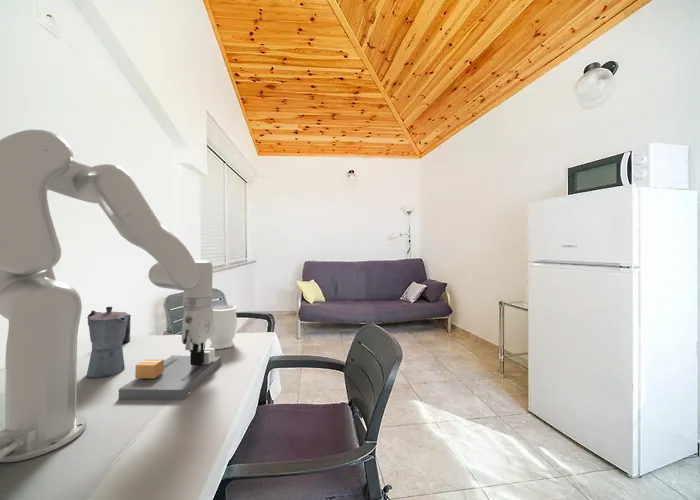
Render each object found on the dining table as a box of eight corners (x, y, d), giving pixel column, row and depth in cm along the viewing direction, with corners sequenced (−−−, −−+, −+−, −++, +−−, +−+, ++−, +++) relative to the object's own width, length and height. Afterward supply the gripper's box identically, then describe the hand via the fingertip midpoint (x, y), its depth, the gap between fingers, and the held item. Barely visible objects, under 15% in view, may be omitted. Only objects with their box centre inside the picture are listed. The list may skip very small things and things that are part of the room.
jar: (242, 344, 111) (242, 307, 111) (217, 352, 103) (218, 311, 103) (225, 339, 117) (226, 303, 117) (201, 346, 108) (202, 307, 108)
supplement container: (131, 343, 111) (131, 316, 111) (108, 346, 106) (108, 319, 106) (129, 338, 116) (130, 313, 116) (108, 342, 111) (108, 315, 111)
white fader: (208, 364, 86) (208, 352, 86) (192, 363, 85) (192, 352, 85) (214, 358, 90) (215, 347, 90) (198, 358, 89) (199, 347, 89)
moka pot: (108, 382, 79) (109, 311, 79) (66, 376, 82) (67, 307, 82) (140, 368, 89) (141, 304, 88) (101, 363, 92) (102, 301, 92)
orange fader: (154, 378, 76) (154, 365, 76) (135, 378, 76) (135, 364, 76) (163, 371, 80) (163, 359, 80) (145, 371, 80) (146, 358, 80)
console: (182, 399, 71) (183, 389, 71) (118, 399, 71) (118, 388, 71) (221, 363, 93) (221, 356, 93) (172, 363, 93) (172, 355, 93)
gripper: (197, 308, 76) (196, 375, 76) (221, 298, 91) (221, 354, 91) (169, 307, 76) (168, 375, 76) (198, 297, 91) (197, 354, 91)
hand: (197, 364), depth 83 cm, fingers closed
